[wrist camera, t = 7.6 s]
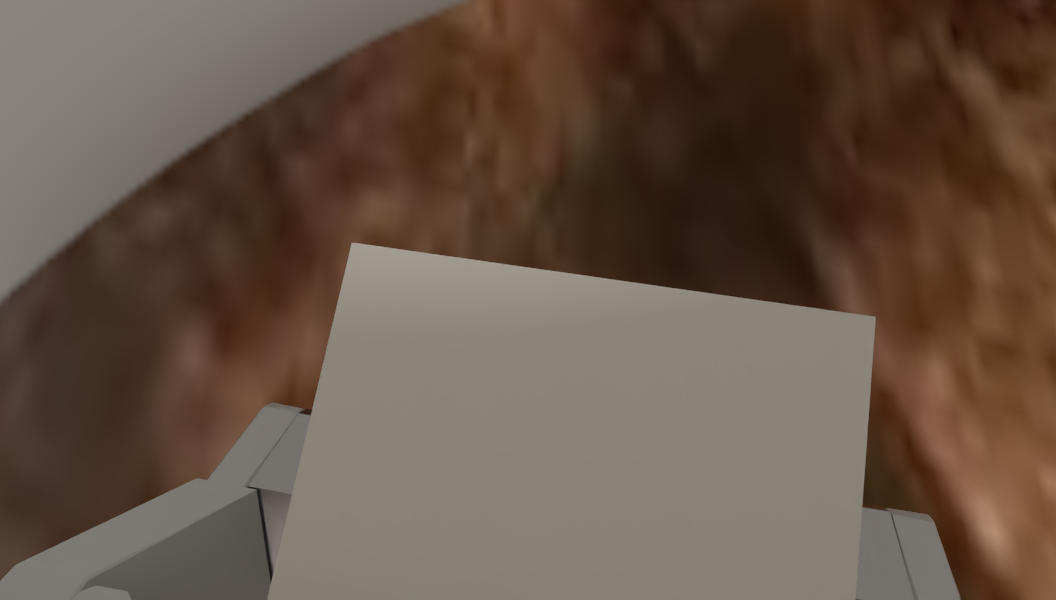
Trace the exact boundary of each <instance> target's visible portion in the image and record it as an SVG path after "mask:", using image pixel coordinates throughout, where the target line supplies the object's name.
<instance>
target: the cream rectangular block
mask: <svg viewBox="0 0 1056 600" xmlns="http://www.w3.org/2000/svg"><path fill="white" fill-rule="evenodd" d="M875 319H876V317H873V316H866V315H859V314H852V313H845V312H838V311H831V310H824V309H817V308H810V307H803V306H796V305H788V304H781V303H774V302H767V301H760V300H753V299H746V298H739V297H732V296H725V295H718V294H711V293H704V292H697V291H690V290H683V289H676V288H669V287H661V286H654V285H647V284H640V283H633V282H626V281H619V280H612V279H605V278H598V277H591V276H584V275H577V274H570V273H563V272H556V271H549V270H541V269H534V268H527V267H520V266H513V265H506V264H499V263H492V262H485V261H478V260H471V259H464V258H457V257H450V256H443V255H436V254H429V253H421V252H414V251H407V250H400V249H393V248H386V247H379V246H372V245H365V244H358V243H352V244H351V249H350V253H349V257H348V261H347V266H346V270H345V274H344V278H343V282H342V287H341V291H340V295H339V299H338V303H337V308H336V312H335V316H334V320H333V324H332V329H331V333H330V337H329V341H328V345H327V350H326V354H325V358H324V362H323V366H322V371H321V375H320V379H319V383H318V387H317V392H316V396H315V400H314V404H313V408H312V413H311V417H310V421H309V425H308V430H307V434H306V438H305V442H304V446H303V451H302V455H301V459H300V463H299V467H298V472H297V476H296V480H295V484H294V488H293V493H292V497H291V501H290V505H289V509H288V514H287V518H286V522H285V526H284V530H283V535H282V539H281V543H280V547H279V551H278V556H277V560H276V564H275V568H274V572H273V577H272V581H271V585H270V589H269V593H268V598H267V600H856V585H857V571H858V557H859V543H860V529H861V515H862V501H863V487H864V473H865V459H866V445H867V431H868V417H869V403H870V389H871V375H872V361H873V347H874V333H875Z"/></svg>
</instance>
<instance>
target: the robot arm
mask: <svg viewBox="0 0 1056 600" xmlns="http://www.w3.org/2000/svg"><path fill="white" fill-rule="evenodd" d="M311 413H312V410H311V409H302V408H297V407H292V406H287V405H282V404H277V403H271V404H269V405H267V406H265V407H263V408H262V409H261V410H260V412H259V413H258V414H257V416H256V417H255V418H254V419H253V421H252V422H251V423H250V425H249V426H248V427H247V429H246V430H245V431H244V432H243V434H242V435H241V436H240V438H239V439H238V440H237V442H236V443H235V444H234V445H233V447H232V448H231V449H230V451H229V452H228V453H227V455H226V456H225V457H224V458H223V460H222V461H221V462H220V464H219V465H218V466H217V468H216V469H215V470H214V471H213V473H212V474H211V475H210V477H209V478H208V479H207V480H203V479H194V480H192V481H190V482H188V483H186V484H184V485H182V486H180V487H178V488H176V489H173V490H171V491H169V492H167V493H165V494H163V495H161V496H159V497H157V498H155V499H153V500H150V501H148V502H146V503H144V504H142V505H140V506H138V507H136V508H134V509H132V510H130V511H127V512H125V513H123V514H121V515H119V516H117V517H115V518H113V519H111V520H109V521H106V522H104V523H102V524H100V525H98V526H96V527H94V528H92V529H90V530H88V531H86V532H83V533H81V534H79V535H77V536H75V537H73V538H71V539H69V540H67V541H65V542H63V543H60V544H58V545H56V546H54V547H52V548H50V549H48V550H46V551H44V552H42V553H39V554H37V555H35V556H33V557H31V558H29V559H27V560H25V561H23V562H21V563H19V564H16V565H15V566H14V567H13V568H12V569H11V570H10V571H9V572H8V574H7V575H6V576H5V577H4V578H3V579H2V580H1V581H0V600H266V599H267V598H268V593H269V589H270V585H271V581H272V577H273V572H274V568H275V564H276V560H277V556H278V551H279V547H280V543H281V539H282V535H283V530H284V526H285V522H286V518H287V514H288V509H289V505H290V501H291V497H292V493H293V488H294V484H295V480H296V476H297V472H298V467H299V463H300V459H301V455H302V451H303V446H304V442H305V438H306V434H307V430H308V425H309V421H310V417H311ZM856 600H961V598H960V595H959V592H958V589H957V587H956V584H955V581H954V578H953V575H952V572H951V569H950V566H949V563H948V561H947V558H946V555H945V552H944V549H943V546H942V543H941V540H940V537H939V535H938V532H937V529H936V526H935V523H934V521H933V520H932V518H931V517H930V516H929V515H928V514H922V513H915V512H909V511H902V510H895V509H889V508H886V509H883V508H879V507H873V506H866V505H862V515H861V529H860V543H859V557H858V571H857V585H856Z"/></svg>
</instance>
